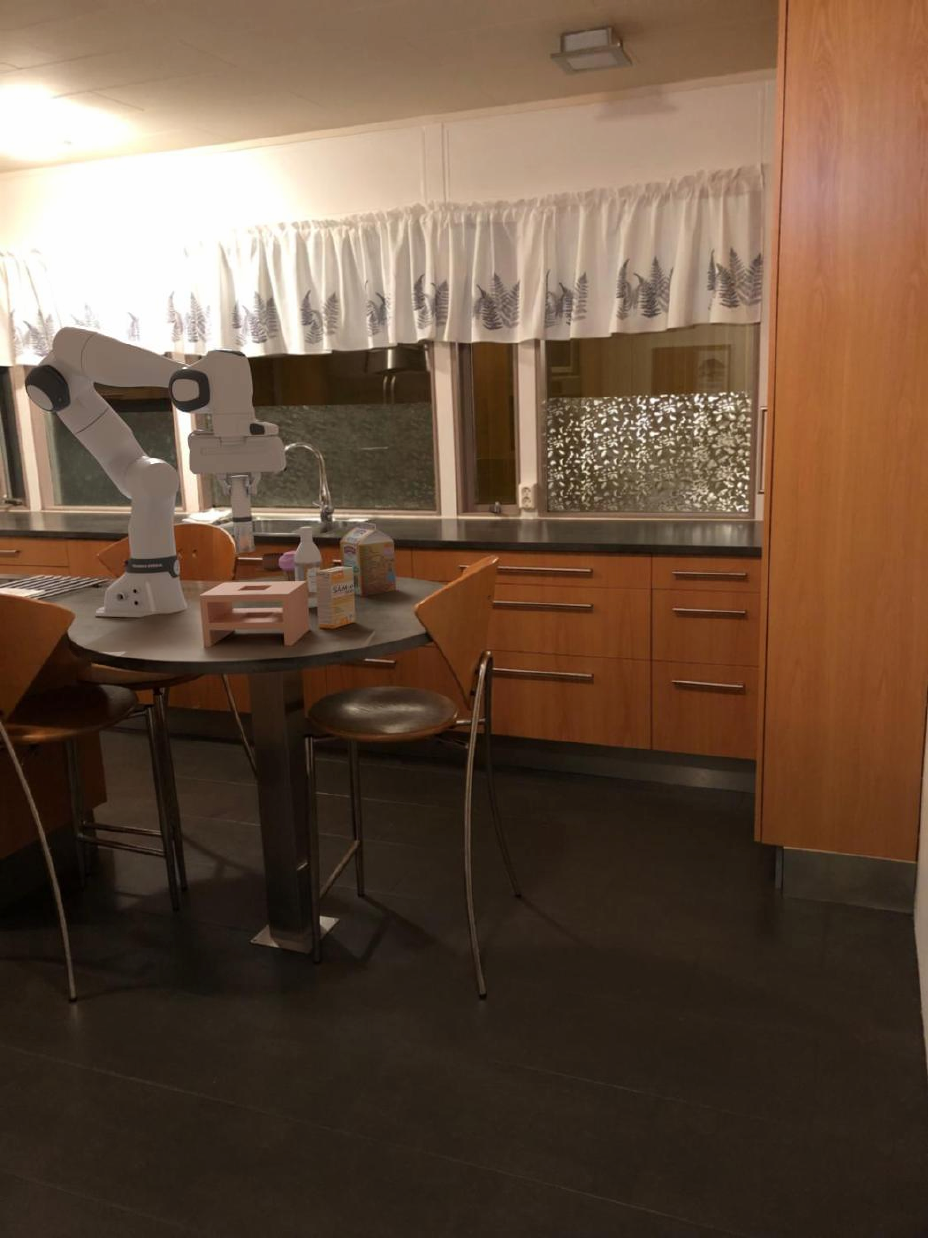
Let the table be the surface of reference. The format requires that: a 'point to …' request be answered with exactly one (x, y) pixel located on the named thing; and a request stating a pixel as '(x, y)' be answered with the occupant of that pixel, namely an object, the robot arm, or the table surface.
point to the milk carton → (369, 559)
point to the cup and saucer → (271, 563)
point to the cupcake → (288, 565)
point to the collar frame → (255, 609)
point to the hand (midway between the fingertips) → (240, 494)
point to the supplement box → (335, 597)
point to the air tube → (241, 514)
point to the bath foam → (307, 564)
